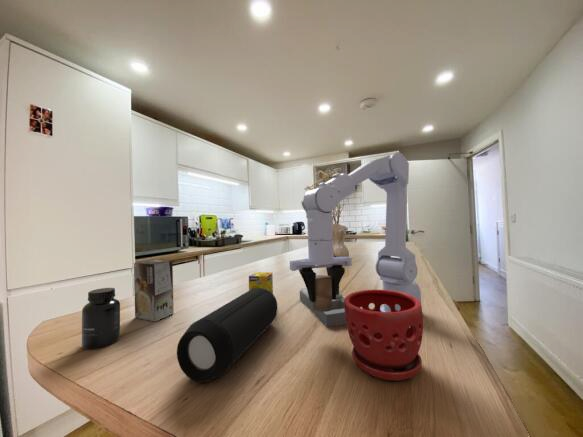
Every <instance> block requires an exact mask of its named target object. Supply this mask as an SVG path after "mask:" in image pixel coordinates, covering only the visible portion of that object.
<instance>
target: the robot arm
mask: <svg viewBox="0 0 583 437" xmlns="http://www.w3.org/2000/svg"><path fill="white" fill-rule="evenodd" d="M409 166H410V164H409V161H408V159H406V157H405V155H403V153H401V152H398V151H397V152H395V153H394V152H393V154H392V153H391V154H389V155H386V156H383V157H380V158H376V159H374V160H372V159H371V160H369V161H368V162H365V163H363V164H361V165H360V166H359V167H357V168H356V169H354V170H353V171H352V172H350V173H349V174H347V173H340V172H336V173H334V174H333V175H331V177H332V178H330V179H329V180H328V181H326V182H325V181H323V182H320V183H318V187H317V188H314V189H310V190H308V191H306V192H305V195H304V196H303V200H302V201H301V207H302V208H303V210H304V211H305V214H306V219H307V241H308V242H307V248H308V251H307V252H308V258H304V259H296V260H295V259H294V260H289V270H290V271H292V272H295V271H299V272H298V273H299V274H300V276H301V278H302V280H303V283H304V285H305V288H307V291H308V295H309V300H310V301H311V302H315V279H316V275H317V273H316V272H315V271H314V270H313V269H322V268H326V269H325V270H326V273H327V274H326V275H327V276H331V277H332V299H333V300H335V299H336V294H337V290H338V286H339V287H340V283H341V281H342V278H343V276H344V275H345V272H346V268H345V267H346V266H347V267H352V266H353V262H352V260H353V259H352V257H351V256H334V234H333V233H334V232H333V230H334V229H333V211H335V210H336V208H337V205H338V203H340V202H341V201H343V200H344V199H346V198H348V197H349V196H351V195H352V194H353V193H354V192H355V189H356V186H358V185H359V184H361V183H362V182H364V181H366V180H369V181H370V182H371V183H373V184H375V185H376V186H377V187H378V188H380V189H381V190H384V192H385V193H386V208H385V242H384V247H382V248H381V249H380V250H378V253H377V259H376V263H375V271H376V274H377V275H378V277H379V278H380V280H381V281H382V290H391V291H397V292H402V293H405V294H409V295H411V296H413V297H415V298H417V299H418V300H419V301H420V303H421V304H422V293H421V288H420V286H419V284H418V283H417V282H416V281H415V280H416V278H417V276H418V273H419V272H418V265H417V262H416V255H415V254H414V253H413V252H412V251H410V249H408V248H407V245H406V243H407V208H408V207H407V206H408V204H407V203H408V184H409V171H410V170H409V169H410V167H409ZM382 305H383V306H380V310H381V312H391V309H390V307H389V306H388V305H386V304H382ZM395 309H396V310H397V311H400V309H401V308H400V306H399V305H398V304H396V305H395ZM422 313H423V316H424V315H425V313H424V312H422Z"/></svg>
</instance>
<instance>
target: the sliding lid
mask: <svg viewBox="0 0 583 437" xmlns="http://www.w3.org/2000/svg"><path fill="white" fill-rule="evenodd" d="M300 291H301V292H302V293H304V294H305V295H306V296H307V297H308V298H309V295H308V291H307V288H306V287H305V288H300ZM338 297H343V294H342V293H341V292H340V285H339V286H338V290H337V294H336V298H338Z"/></svg>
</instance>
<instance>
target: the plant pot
mask: <svg viewBox="0 0 583 437" xmlns="http://www.w3.org/2000/svg"><path fill="white" fill-rule="evenodd" d="M344 298H345V299H344V309H345V319H346V324H345V325H346V327H347V331H348V336H349V339H350V341H351V343H352V345H353V347H352V350H351V353H352V358H353V360H354V361H355V363H356V364H357V366H359V367H360V369H362V370H363V371H364V372H366V373H367V374H369V375H371V376H373V377H375V378H378V379H382V380H387V381H395V382H397V381H404V380H408V379H410V378H413V377H414V376H416V375H417V374H418V373H419V372H420V370H421V368H422V362H423V361H422V358H421V356H420V354H419V352H420V349H421V346H422V343H423V332H424V324H423V323H424V315H423V313H424V312H423V306H422V302H421V303H420V301H419V300H418V299H417V298H415V297H413V296H411V295H409V294H405V293H402V292H397V291H391V290H383V289H377V288H376V289H365V290H364V289H362V290H357V291H354V292H352V293H349V294H347V295H346V296H345V297H344ZM371 304H373V306H374V307H373V308H370V307H369V306H370V305H371ZM383 304H386V305H388V306H389V307H390V309H391V312H381V310H380V307H382V305H383ZM396 304H398V305H399V306H400V308H401V309H400V311H397V310H396V309H395V305H396Z"/></svg>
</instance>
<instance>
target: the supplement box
mask: <svg viewBox="0 0 583 437" xmlns="http://www.w3.org/2000/svg"><path fill="white" fill-rule="evenodd" d="M273 276H274V275H273V272H270V271H269V272H267V271H266V272H265V271H263V272H261V271H255V272H254V273H252V274H250V275H248V291H249V290H251V289H254V288H263V289H267V290H269V291H270V292H271V293H273V294H274V286H273V284H274V283H273Z"/></svg>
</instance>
